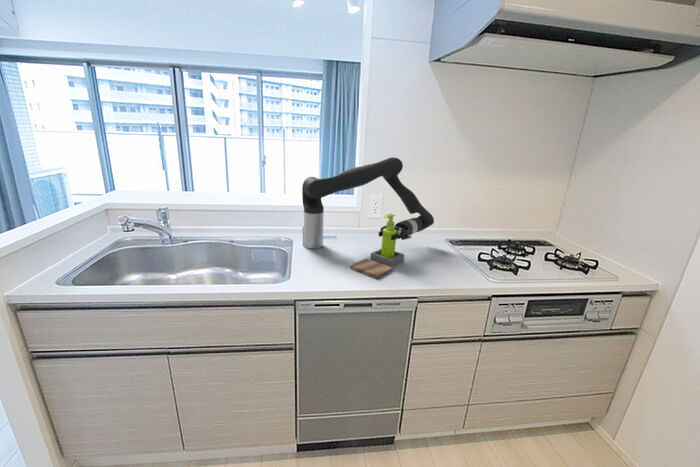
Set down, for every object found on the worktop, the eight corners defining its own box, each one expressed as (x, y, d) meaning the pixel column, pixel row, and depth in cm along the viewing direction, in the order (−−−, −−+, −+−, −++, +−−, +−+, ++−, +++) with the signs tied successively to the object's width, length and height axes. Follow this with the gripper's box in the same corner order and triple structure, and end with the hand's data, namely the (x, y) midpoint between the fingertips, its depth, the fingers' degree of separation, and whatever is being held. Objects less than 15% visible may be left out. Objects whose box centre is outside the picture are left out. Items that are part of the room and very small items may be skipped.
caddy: (370, 261, 140) (370, 253, 139) (383, 255, 147) (383, 247, 146) (391, 269, 133) (391, 260, 132) (403, 262, 141) (404, 254, 140)
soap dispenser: (376, 258, 139) (379, 214, 133) (386, 254, 144) (389, 212, 138) (387, 262, 136) (391, 217, 129) (396, 258, 140) (400, 214, 134)
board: (350, 268, 132) (350, 265, 132) (366, 261, 140) (366, 258, 140) (377, 279, 124) (377, 275, 123) (392, 270, 132) (393, 267, 131)
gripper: (393, 217, 150) (372, 223, 138) (421, 224, 141) (401, 231, 129) (392, 232, 152) (371, 240, 140) (419, 239, 144) (399, 248, 131)
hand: (385, 236), depth 135 cm, fingers closed on soap dispenser, 6 cm apart
